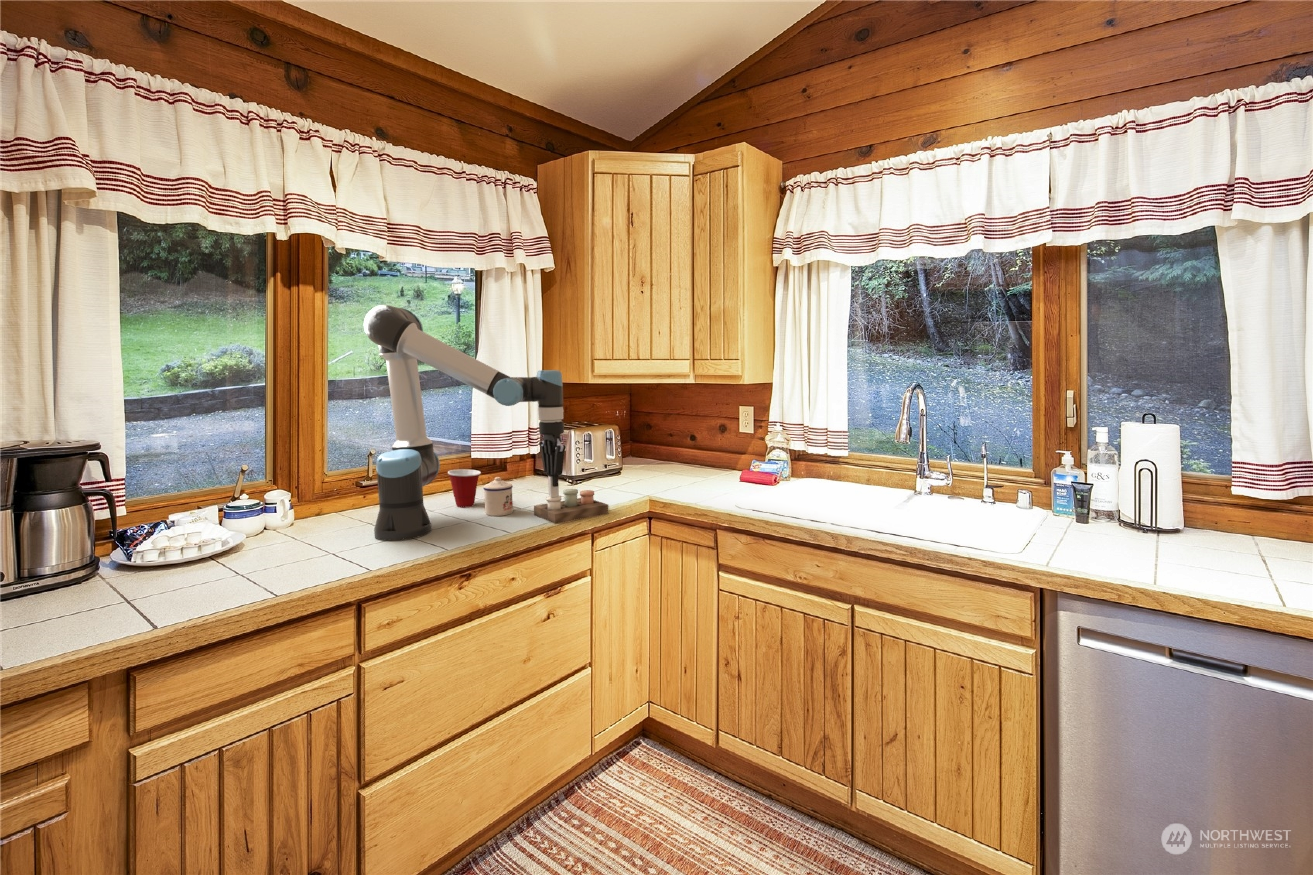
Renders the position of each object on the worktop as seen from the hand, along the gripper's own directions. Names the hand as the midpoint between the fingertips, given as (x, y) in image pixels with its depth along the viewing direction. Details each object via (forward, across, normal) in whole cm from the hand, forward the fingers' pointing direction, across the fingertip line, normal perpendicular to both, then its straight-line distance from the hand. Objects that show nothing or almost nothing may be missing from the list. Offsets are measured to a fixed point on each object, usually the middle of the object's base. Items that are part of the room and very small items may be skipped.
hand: (553, 496), depth 191 cm
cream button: (+6, 0, 0) cm, 6 cm away
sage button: (+4, 0, -6) cm, 7 cm away
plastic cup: (+7, +34, +16) cm, 38 cm away
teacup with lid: (+7, +18, +10) cm, 22 cm away
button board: (+7, 0, -6) cm, 9 cm away
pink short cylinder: (+6, 0, -12) cm, 13 cm away
